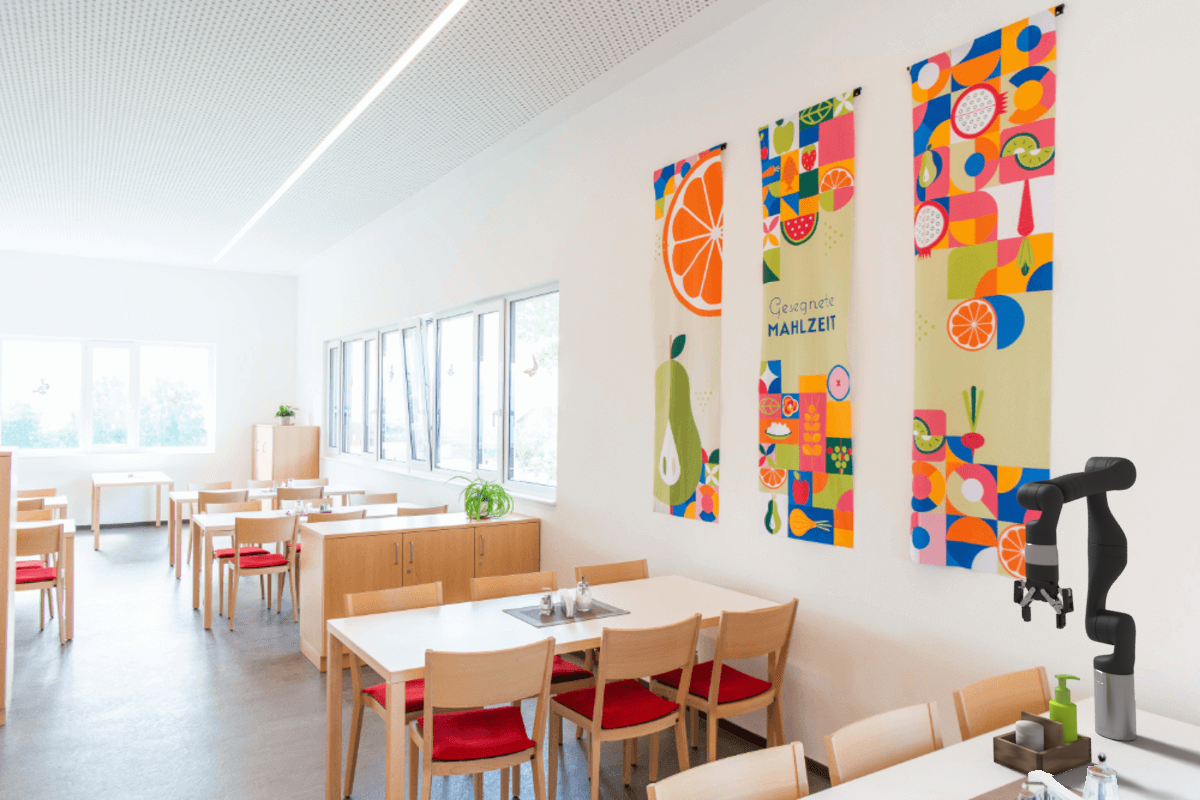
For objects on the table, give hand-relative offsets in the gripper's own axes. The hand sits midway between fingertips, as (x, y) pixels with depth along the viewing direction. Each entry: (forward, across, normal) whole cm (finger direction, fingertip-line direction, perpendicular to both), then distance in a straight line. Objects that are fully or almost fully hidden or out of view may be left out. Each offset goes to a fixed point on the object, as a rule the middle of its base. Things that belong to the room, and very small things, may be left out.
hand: (1043, 624), depth 197 cm
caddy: (+33, -2, +6) cm, 33 cm away
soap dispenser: (+32, -5, 0) cm, 32 cm away
